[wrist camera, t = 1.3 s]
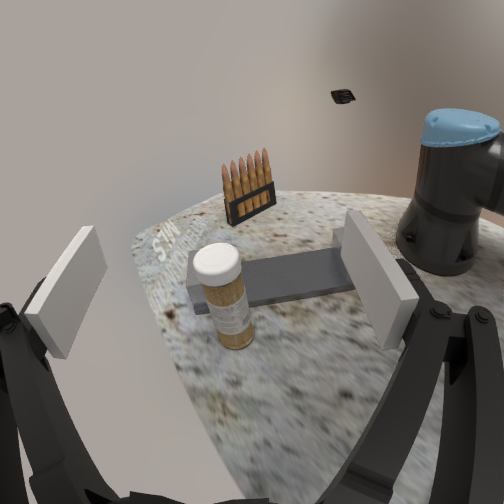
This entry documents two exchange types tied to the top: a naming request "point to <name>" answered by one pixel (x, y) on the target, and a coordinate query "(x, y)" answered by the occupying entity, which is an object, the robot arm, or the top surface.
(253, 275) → the rail
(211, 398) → the top surface
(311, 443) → the top surface
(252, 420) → the top surface
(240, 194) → the ammunition clip
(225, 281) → the sprinkles bottle
